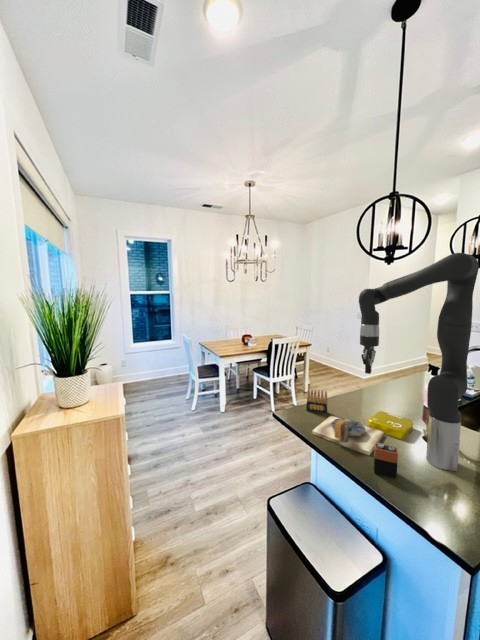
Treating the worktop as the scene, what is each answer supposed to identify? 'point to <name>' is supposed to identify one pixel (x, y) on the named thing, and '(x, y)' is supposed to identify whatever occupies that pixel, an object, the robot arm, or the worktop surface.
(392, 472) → the battery
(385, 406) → the worktop surface
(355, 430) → the multicoloured piece
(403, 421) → the element tile
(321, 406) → the ammunition clip
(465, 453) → the worktop surface
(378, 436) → the dial base
